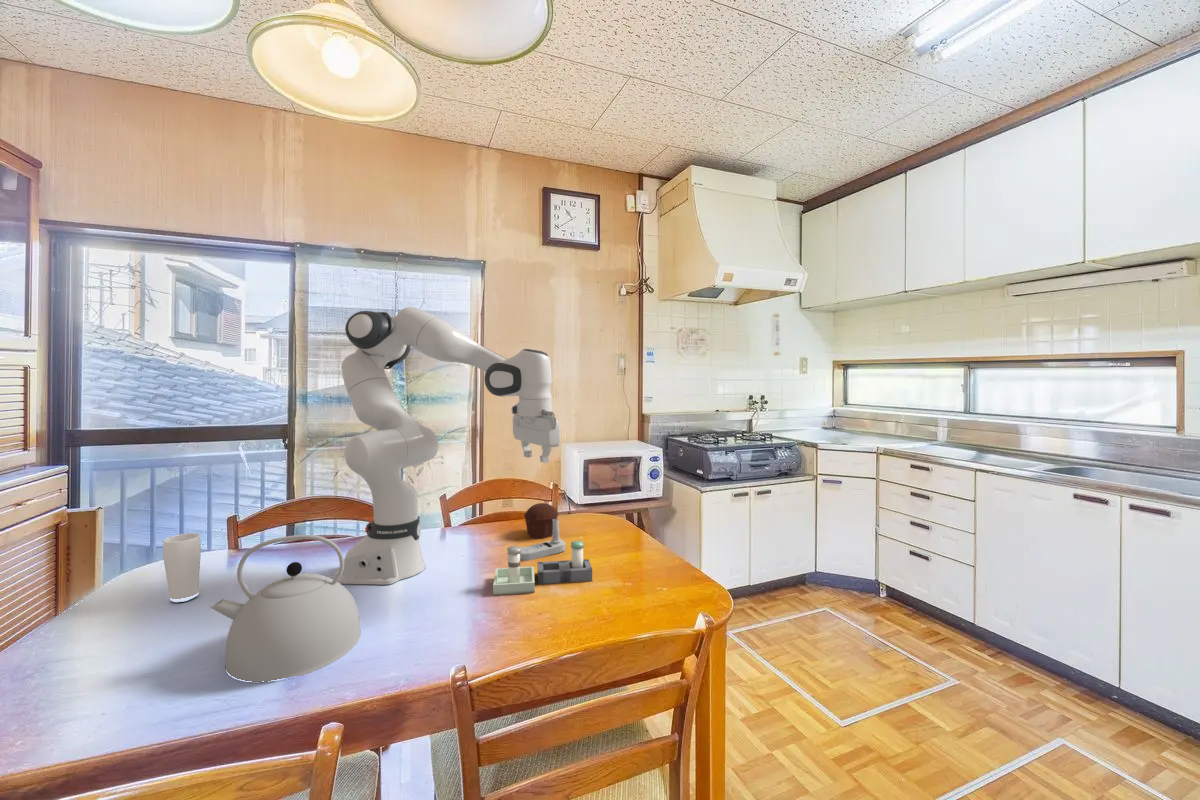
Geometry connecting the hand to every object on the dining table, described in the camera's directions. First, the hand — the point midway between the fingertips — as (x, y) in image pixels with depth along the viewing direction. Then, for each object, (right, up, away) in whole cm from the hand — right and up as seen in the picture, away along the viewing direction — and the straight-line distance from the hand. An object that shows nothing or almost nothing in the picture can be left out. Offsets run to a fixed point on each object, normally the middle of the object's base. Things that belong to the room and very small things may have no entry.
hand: (535, 459), depth 132 cm
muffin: (-2, -29, +30) cm, 42 cm away
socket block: (+8, -31, -3) cm, 32 cm away
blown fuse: (-4, -31, -8) cm, 32 cm away
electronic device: (0, -30, +13) cm, 33 cm away
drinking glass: (-82, -32, -16) cm, 89 cm away
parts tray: (-4, -31, -8) cm, 32 cm away
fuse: (+12, -31, -3) cm, 33 cm away
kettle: (-44, -33, -36) cm, 66 cm away
